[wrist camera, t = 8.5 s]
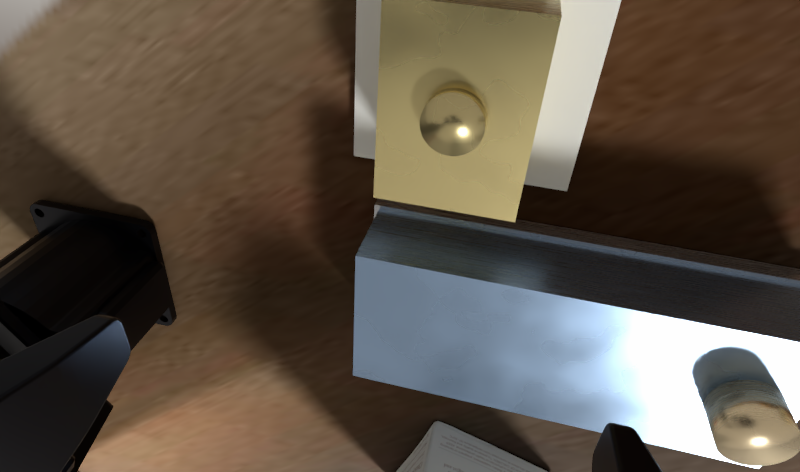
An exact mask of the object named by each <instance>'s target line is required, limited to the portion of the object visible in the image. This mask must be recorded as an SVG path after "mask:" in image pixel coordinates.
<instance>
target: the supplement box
mask: <svg viewBox="0 0 800 472" xmlns="http://www.w3.org/2000/svg"><path fill="white" fill-rule="evenodd" d="M396 472H547V471H545V470H544V469H542V468H539V467H537V466H535V465H533V464H531V463H529V462H527V461H525V460H523V459H520V458H518V457H516V456H514V455H512V454H510V453H508V452H506V451H504V450H501V449H499V448H497V447H495V446H493V445H491V444H489V443H487V442H485V441H482V440H480V439H478V438H476V437H474V436H472V435H469V434H467V433H465V432H463V431H461V430H458V429H457V428H455V427H452V426H450V425H448V424H445V423H443V422H440V421H436V422H434V423H433V424H432V426H431V428H430V429H429V430H428V432H427V433H426V435H425V436H424V438H423V439H422V440H421V442H420V443H419V444H418V446H417V447H416V448H415V450H414V451H413V452H412V453H411V454H410V456H409V457H408V458H407V459H406V460H405V462H404V463H403V464H402V465H401V466H400V468H399V469H398V470H397V471H396Z"/></svg>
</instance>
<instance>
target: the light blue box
mask: <svg viewBox="0 0 800 472" xmlns="http://www.w3.org/2000/svg"><path fill="white" fill-rule="evenodd" d="M353 376H357V377H361V378H366V379H370V380H374V381H379V382H383V383H387V384H392V385H396V386H400V387H405V388H409V389H413V390H418V391H422V392H427V393H431V394H435V395H440V396H444V397H448V398H453V399H457V400H461V401H466V402H470V403H474V404H479V405H483V406H487V407H492V408H496V409H500V410H505V411H509V412H513V413H518V414H522V415H526V416H531V417H535V418H540V419H544V420H548V421H553V422H557V423H561V424H566V425H570V426H574V427H579V428H583V429H587V430H592V431H596V432H600V433H602V432H603V430H604V428H605V426H606V425H607V424H608V423H616V424H621V425H625V426H629V427H632V428H633V429H635V430H636V432H637V433H638V434H639V436H640V438H641V439H642V441H643V442H644V443H648V444H653V445H657V446H661V447H666V448H670V449H674V450H679V451H683V452H687V453H692V454H696V455H700V456H705V457H709V458H713V459H718V460H722V461H726V462H731V463H735V464H739V465H744V466H748V467H753V468H757V469H760V467H761V466H766V465H773V464H777V463H781V462H784V461H786V460H788V459H790V458H792V457H793V456H795V455H796V454H797V453H798V452H799V451H800V430H799V428H798V426H797V424H796V423H797V421H798V420H799V419H800V269H798V268H793V267H787V266H781V265H776V264H770V263H764V262H759V261H753V260H747V259H742V258H736V257H730V256H725V255H719V254H713V253H708V252H702V251H696V250H691V249H685V248H679V247H673V246H668V245H662V244H656V243H651V242H645V241H639V240H634V239H628V238H622V237H617V236H611V235H605V234H600V233H594V232H588V231H583V230H577V229H571V228H566V227H560V226H554V225H549V224H543V223H537V222H532V221H526V220H520V219H516V221H515V222H510V221H504V220H498V219H493V218H487V217H481V216H476V215H470V214H464V213H459V212H453V211H447V210H442V209H436V208H430V207H424V206H419V205H413V204H407V203H402V202H396V201H390V200H385V199H379V198H378V199H377V201H376V203H375V205H374V220H373V222H372V224H371V226H370V228H369V230H368V232H367V234H366V236H365V238H364V240H363V242H362V244H361V246H360V248H359V250H358V252H357V254H356V256H355V300H354V346H353Z"/></svg>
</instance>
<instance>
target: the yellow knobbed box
mask: <svg viewBox="0 0 800 472" xmlns="http://www.w3.org/2000/svg"><path fill="white" fill-rule="evenodd" d="M561 17H562V12H561V2H560V0H381V23H380V47H379V72H378V96H377V121H376V145H375V170H374V194H373V198H379V199H385V200H390V201H396V202H402V203H407V204H413V205H419V206H424V207H430V208H436V209H442V210H447V211H453V212H459V213H464V214H470V215H476V216H481V217H487V218H493V219H498V220H504V221H510V222H515V221H516V216H517V212H518V207H519V203H520V198H521V194H522V190H523V185H524V181H525V176H526V172H527V168H528V163H529V159H530V154H531V150H532V145H533V141H534V137H535V132H536V128H537V123H538V119H539V115H540V110H541V106H542V101H543V97H544V92H545V88H546V84H547V79H548V75H549V70H550V66H551V62H552V57H553V53H554V48H555V44H556V39H557V35H558V31H559V26H560V22H561Z"/></svg>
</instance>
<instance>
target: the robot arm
mask: <svg viewBox="0 0 800 472" xmlns="http://www.w3.org/2000/svg"><path fill="white" fill-rule="evenodd" d="M30 211H31V214H32V216H33V219H34V222H35V224H36V227H37V229H38V232H39V234H37V235H36V236H34V237H33V238H31V239H30V240H29V241H27V242H26V243H24V244H23V245H21V246H20V247H19V248H17V249H16V250H14V251H13V252H11V253H10V254H9V255H7V256H6V257H4V258H3V259H2V260H0V472H77V470H78V469H79V467H80V465H81V463H82V462H83V460H84V458H85V456H86V454H87V453H88V451H89V449H90V447H91V446H92V444H93V442H94V440H95V438H96V437H97V435H98V433H99V431H100V430H101V428H102V426H103V424H104V422H105V421H106V419H107V417H108V415H109V414H110V412H111V410H112V408H113V405H112V404H111V403H110V402H108V401H107V400H106V399H107V398H108V396H109V394H110V392H111V390H112V388H113V387H114V385H115V383H116V381H117V379H118V378H119V376H120V374H121V372H122V370H123V369H124V367H125V365H126V363H127V361H128V359H129V356H130V351H131V350H132V349H133V348H134V347H135V346H136V344H137V343H138V342H139V341H140V340H141V339H142V338H143V336H144V335H145V334H146V333H147V332H148V331H149V330H150V328H151V327H152V326H153V325H154V324H155V323H157V324H161V325H166V326H169V325H171V324H172V323H173V322H174V321H175V319H176V311H175V307H174V303H173V299H172V295H171V291H170V287H169V282H168V278H167V274H166V270H165V266H164V262H163V258H162V253H161V249H160V245H159V241H158V237H157V233H156V230H155V227H154V226H153V225H152V224H151V223H149V222H148V221H145V220H141V219H136V218H131V217H126V216H121V215H115V214H110V213H105V212H100V211H95V210H90V209H85V208H80V207H75V206H70V205H65V204H60V203H54V202H49V201H44V200H39V201H37V202H35V203H34V204H32V205H31V206H30ZM592 472H662V471H661V469H660V467H659V466H658V464H657V463H656V461H655V460H654V458H653V456H652V455H651V453H650V452H649V450H648V449H647V447H646V445H645V444H644V442H643V441H642V439H641V438H640V436H639V434H638V433H637V432H636V430H635V429H633V428H632V427H629V426H625V425H621V424H616V423H608V424H607V425H606V426H605V428H604V430H603V432H602V434H601V437H600V439H599V441H598V443H597V446H596V448H595V450H594V454H593V460H592Z"/></svg>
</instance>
